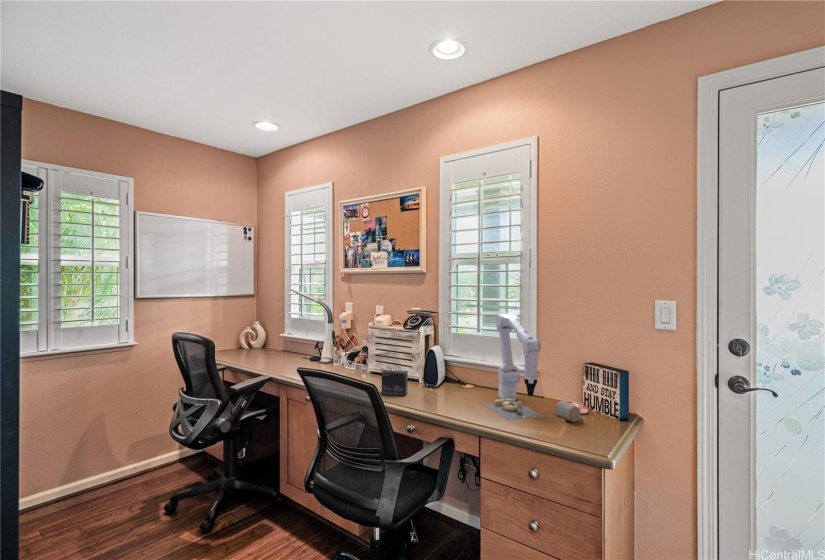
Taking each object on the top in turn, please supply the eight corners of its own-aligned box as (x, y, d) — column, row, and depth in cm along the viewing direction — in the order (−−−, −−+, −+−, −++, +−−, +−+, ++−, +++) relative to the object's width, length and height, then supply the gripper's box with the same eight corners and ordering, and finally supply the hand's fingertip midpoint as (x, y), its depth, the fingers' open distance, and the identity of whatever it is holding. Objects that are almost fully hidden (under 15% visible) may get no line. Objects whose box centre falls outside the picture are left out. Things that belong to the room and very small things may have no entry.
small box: (407, 393, 216) (408, 370, 216) (405, 396, 209) (406, 373, 209) (383, 391, 218) (384, 369, 218) (381, 395, 211) (381, 372, 211)
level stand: (484, 407, 192) (484, 399, 192) (518, 405, 197) (518, 396, 197) (507, 423, 171) (507, 413, 171) (544, 420, 176) (544, 410, 176)
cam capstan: (499, 406, 189) (499, 394, 189) (514, 405, 191) (514, 393, 191) (512, 415, 176) (512, 403, 176) (529, 414, 178) (529, 402, 178)
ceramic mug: (570, 424, 171) (570, 406, 171) (554, 418, 178) (555, 401, 178) (586, 420, 176) (586, 403, 177) (570, 415, 183) (570, 398, 184)
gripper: (521, 361, 191) (521, 390, 191) (521, 368, 177) (521, 399, 177) (537, 363, 189) (537, 391, 189) (538, 369, 175) (537, 400, 175)
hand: (530, 395), depth 183 cm, fingers closed
